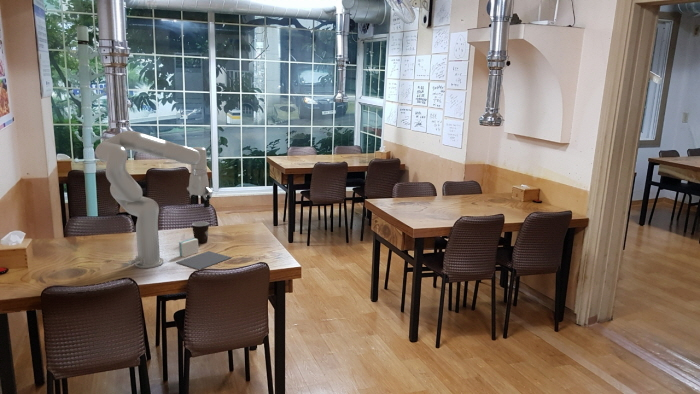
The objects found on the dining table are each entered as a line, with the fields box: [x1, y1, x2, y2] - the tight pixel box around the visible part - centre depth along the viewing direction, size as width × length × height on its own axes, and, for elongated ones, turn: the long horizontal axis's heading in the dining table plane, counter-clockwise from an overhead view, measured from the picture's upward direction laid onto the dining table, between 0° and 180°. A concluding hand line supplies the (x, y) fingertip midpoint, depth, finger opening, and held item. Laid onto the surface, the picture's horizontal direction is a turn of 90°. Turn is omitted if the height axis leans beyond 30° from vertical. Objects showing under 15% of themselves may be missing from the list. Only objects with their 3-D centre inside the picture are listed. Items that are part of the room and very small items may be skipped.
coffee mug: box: [191, 221, 210, 245], centre depth 277 cm, size 12×9×10 cm
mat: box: [175, 250, 232, 271], centre depth 249 cm, size 20×16×1 cm
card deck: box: [178, 237, 199, 258], centre depth 257 cm, size 9×3×7 cm, turn 147°
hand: (199, 205), depth 261 cm, fingers open, 9 cm apart
